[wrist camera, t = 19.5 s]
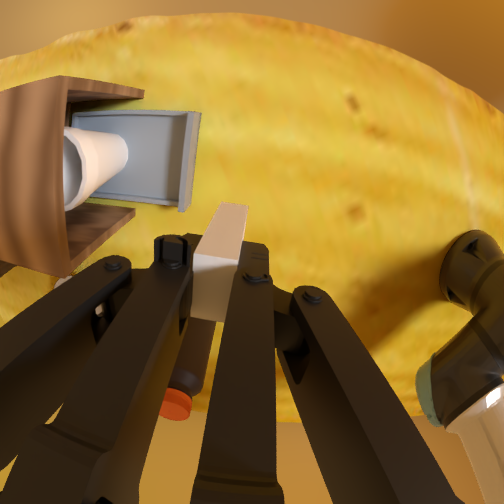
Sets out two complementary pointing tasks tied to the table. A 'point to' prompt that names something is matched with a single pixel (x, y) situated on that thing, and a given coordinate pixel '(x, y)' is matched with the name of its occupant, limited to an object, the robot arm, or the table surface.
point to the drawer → (149, 154)
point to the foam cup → (89, 162)
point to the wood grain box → (48, 177)
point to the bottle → (188, 369)
